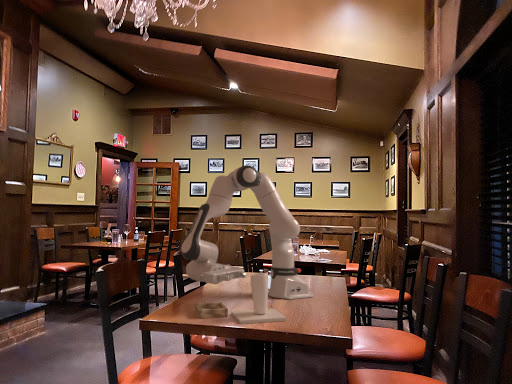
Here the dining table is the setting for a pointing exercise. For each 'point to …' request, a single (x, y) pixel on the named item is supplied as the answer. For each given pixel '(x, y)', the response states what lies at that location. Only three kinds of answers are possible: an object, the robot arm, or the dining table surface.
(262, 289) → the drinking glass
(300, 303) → the dining table surface
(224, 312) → the wooden tray
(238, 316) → the plate
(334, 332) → the dining table surface
